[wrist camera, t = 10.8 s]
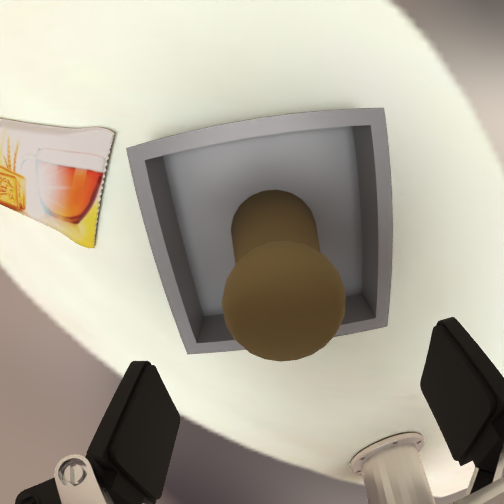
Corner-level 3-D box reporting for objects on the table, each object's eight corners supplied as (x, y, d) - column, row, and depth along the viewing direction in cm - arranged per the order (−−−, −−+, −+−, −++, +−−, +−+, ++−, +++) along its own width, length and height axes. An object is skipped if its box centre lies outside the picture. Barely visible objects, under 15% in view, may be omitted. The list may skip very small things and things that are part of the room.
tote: (369, 295, 24) (387, 326, 20) (197, 320, 25) (187, 354, 21) (359, 111, 18) (383, 107, 14) (151, 144, 20) (126, 148, 15)
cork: (229, 267, 22) (208, 377, 12) (232, 186, 20) (204, 247, 10) (310, 272, 22) (344, 381, 12) (320, 193, 20) (382, 257, 10)
